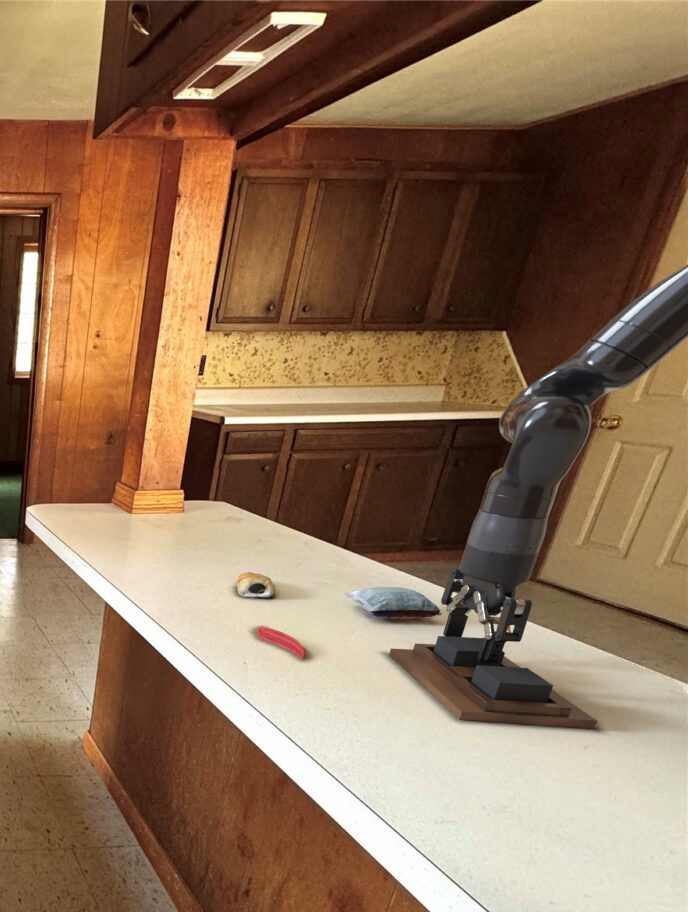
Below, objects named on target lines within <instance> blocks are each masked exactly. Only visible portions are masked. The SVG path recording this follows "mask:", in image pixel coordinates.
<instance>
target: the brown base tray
mask: <svg viewBox="0 0 688 912" xmlns="http://www.w3.org/2000/svg"><path fill="white" fill-rule="evenodd" d="M435 645H436V643H414V645H413V649H411V648H407V649H406V648H390V651H389V654H388V656H389V657H390V658H391V659H393V660H394V662H396V663H397V664H398V665H399V666H400V667H401V668H402V669H404V670H405V671H406V673H408V674H409V675H410V676H411V677H412V678H413V679H414V680H415V681H417V682H418V683H419V684H420V685H421V687H423V688H424V689H425V690H426V691H428V692H429V693H430V695H432V696H433V697H434V698H435V699H436V700H437V701H438V702H439V703H441V705H443V706H444V708H446V709H447V710H448V711H449V712H450V713H451V714H453V715H454V716H455V717H456V718H457V719H458V720H462V721H474V722H475V721H476V722H477V721H478V722H491V723H504V724H520V725H533V726H534V725H535V726H549V727H562V728H577V729H593V730H594V729H595V728H596V726H597V724H598V720H597V719H596V718H595V717H593V716H592V715H590V714H589V713H587V712H586V711H584V710H583V709H581V708H580V707H579V706H577V705H576V704H574V703H573V702H571V701H570V700H569V699H567V698H566V697H564V696H562V695H561V694H560V693H559V692H557V691H555V690H554V689H552V691H551V693H550V696H549V698H548V701H547V703H535V702H519V701H503V700H491V699H490V698H488V697H487V696H486V695H485V694H483V693H482V692H481V691H480V690H478V689H477V688H476V687H475V686H474V685H472V684H471V681H472V678H473V675H474V672H475V669H476V667H461V666H449V665H448V664H446V663H445V662H444V661H443V660H441V659H440V658H439V657H438V656H436V655H435V654H434V653H433V651H434V648H435ZM501 667H519V668H522V667H521V666H519V665H518V664H516V663H515V662H513V661H512V660H511V659H509V658H508V657H506V656H505V655H504V658H503V660H502V663H501Z"/></svg>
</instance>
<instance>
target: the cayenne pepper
mask: <svg viewBox="0 0 688 912" xmlns="http://www.w3.org/2000/svg"><path fill="white" fill-rule="evenodd" d="M257 637H258V638H260V639H261V640H263V641H265V642H268V643H271V644H274V645H277V646H279V647H281V648H283V649H285V650H287V651H290V652H291V653H293V654H294V655H297V656H298V657H299V658H300V659H301V660H304V659H306V657H307V650H306V649H305V647H304V646H303V645H302V644H301V642H299V640H297V639H296V638H294V637H293V636H292V635H291V636H290V635H289V634H287V633H285V632H283V631H280V630H278V629H275V628H270V627H264V626H261V627H258V629H257Z"/></svg>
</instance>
